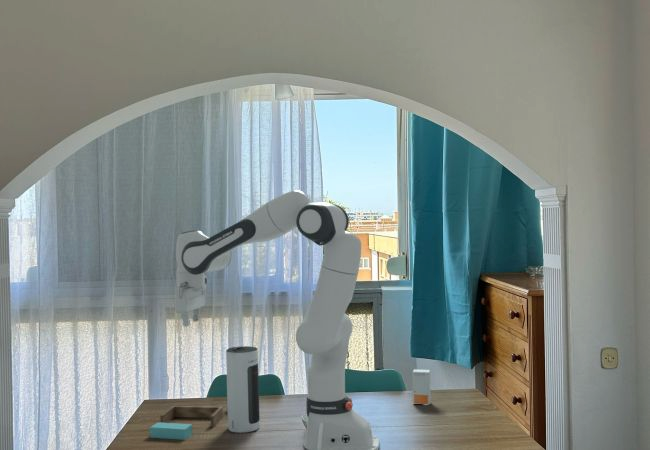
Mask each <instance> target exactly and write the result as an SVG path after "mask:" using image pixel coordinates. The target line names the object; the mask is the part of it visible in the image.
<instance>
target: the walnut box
mask: <svg viewBox="0 0 650 450" xmlns="http://www.w3.org/2000/svg"><path fill="white" fill-rule="evenodd" d="M174 418H203V419H204V418H210V427H211V428H214V427H216V426H217V425H218V423H219V422H220V421H221V420H222V419H223V418H224V406H208V405H207V406H206V405H205V406H198V405H197V406H196V405H195V406H194V405H190V406H187V405H172V406H170V407H169V408H168V409H167V410H166V411H164V412H163V413H162V414H160V422H161V423H170V422H171V420H173V419H174Z"/></svg>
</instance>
